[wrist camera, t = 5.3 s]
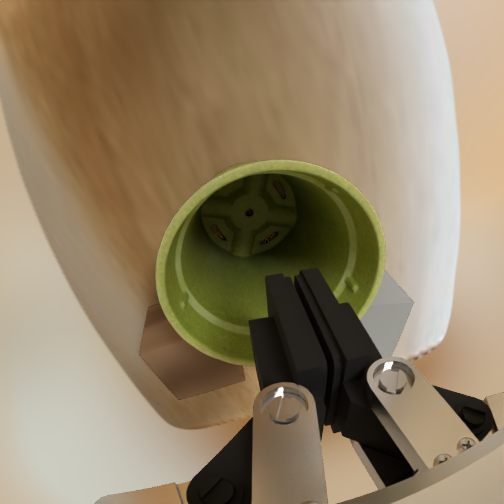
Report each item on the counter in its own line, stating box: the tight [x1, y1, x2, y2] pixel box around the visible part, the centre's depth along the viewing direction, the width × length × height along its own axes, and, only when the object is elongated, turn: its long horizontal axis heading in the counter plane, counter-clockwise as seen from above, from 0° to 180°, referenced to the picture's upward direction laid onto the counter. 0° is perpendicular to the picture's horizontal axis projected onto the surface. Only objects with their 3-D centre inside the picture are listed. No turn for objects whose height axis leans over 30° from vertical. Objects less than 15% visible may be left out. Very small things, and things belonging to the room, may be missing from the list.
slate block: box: [360, 269, 414, 358], centre depth 21 cm, size 5×5×6 cm
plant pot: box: [155, 159, 386, 366], centre depth 16 cm, size 9×9×9 cm
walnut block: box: [139, 303, 245, 400], centre depth 21 cm, size 5×5×5 cm
